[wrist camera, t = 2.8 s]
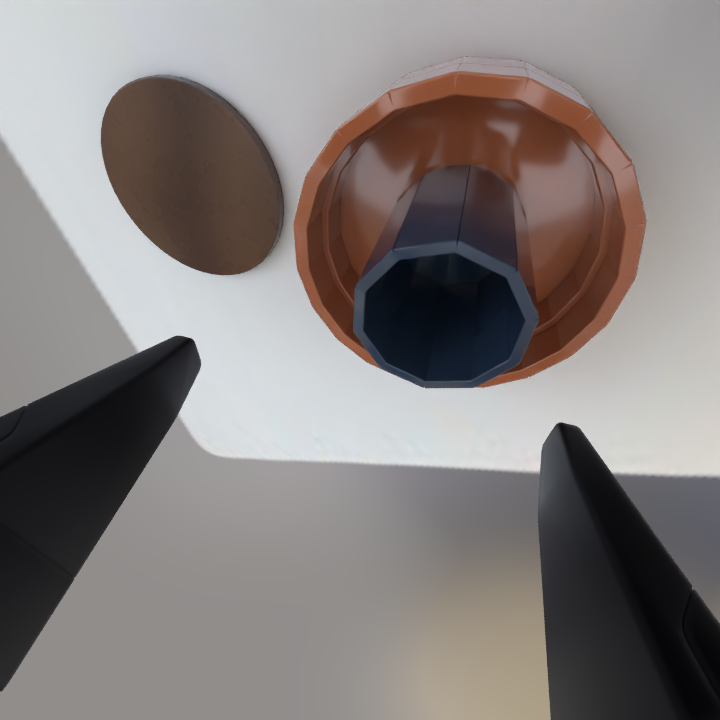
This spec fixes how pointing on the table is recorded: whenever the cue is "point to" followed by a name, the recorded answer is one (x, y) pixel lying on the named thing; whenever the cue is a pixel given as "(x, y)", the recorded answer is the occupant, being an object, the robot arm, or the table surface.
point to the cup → (449, 282)
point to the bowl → (499, 155)
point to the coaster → (192, 174)
